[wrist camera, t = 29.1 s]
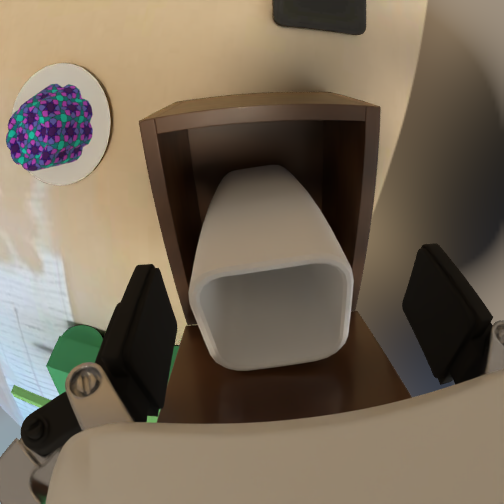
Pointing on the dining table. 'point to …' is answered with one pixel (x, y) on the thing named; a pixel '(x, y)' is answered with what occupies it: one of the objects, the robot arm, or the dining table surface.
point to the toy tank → (73, 361)
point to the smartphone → (322, 15)
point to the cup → (269, 274)
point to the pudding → (59, 124)
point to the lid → (279, 384)
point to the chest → (262, 164)
